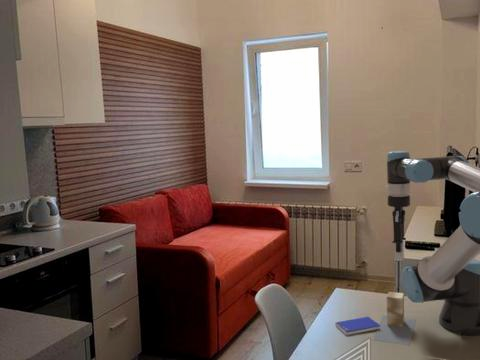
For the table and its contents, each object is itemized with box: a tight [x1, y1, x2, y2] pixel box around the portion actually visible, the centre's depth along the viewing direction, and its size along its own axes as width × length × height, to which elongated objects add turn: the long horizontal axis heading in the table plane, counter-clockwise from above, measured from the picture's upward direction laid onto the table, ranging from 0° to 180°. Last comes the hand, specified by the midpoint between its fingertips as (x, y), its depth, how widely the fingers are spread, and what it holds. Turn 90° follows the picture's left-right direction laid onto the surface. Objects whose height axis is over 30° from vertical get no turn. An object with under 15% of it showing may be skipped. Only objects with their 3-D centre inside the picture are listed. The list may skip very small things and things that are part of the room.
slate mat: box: [373, 315, 416, 346], centre depth 157 cm, size 11×20×1 cm, turn 155°
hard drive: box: [335, 316, 380, 336], centre depth 160 cm, size 2×8×12 cm
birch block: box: [386, 291, 405, 327], centre depth 161 cm, size 5×5×10 cm
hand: (399, 259), depth 170 cm, fingers open, 3 cm apart
